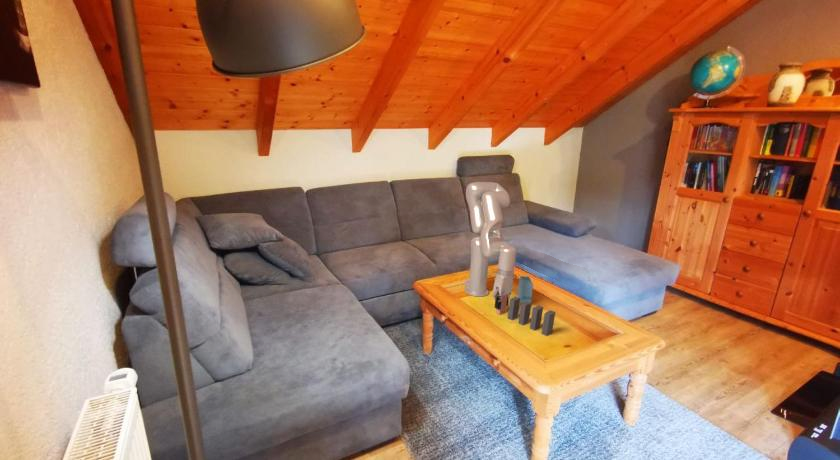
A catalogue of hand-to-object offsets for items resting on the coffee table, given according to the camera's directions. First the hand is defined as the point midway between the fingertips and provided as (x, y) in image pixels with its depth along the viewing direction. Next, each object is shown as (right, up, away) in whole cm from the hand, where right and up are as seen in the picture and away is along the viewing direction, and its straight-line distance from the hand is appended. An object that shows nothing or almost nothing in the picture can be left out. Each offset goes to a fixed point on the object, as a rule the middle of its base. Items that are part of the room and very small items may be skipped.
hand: (501, 306), depth 195 cm
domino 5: (+17, -9, -17) cm, 25 cm away
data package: (+15, 0, +16) cm, 22 cm away
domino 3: (+9, -6, -8) cm, 13 cm away
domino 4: (+13, -7, -12) cm, 19 cm away
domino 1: (0, -3, +1) cm, 3 cm away
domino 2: (+5, -5, -4) cm, 8 cm away
